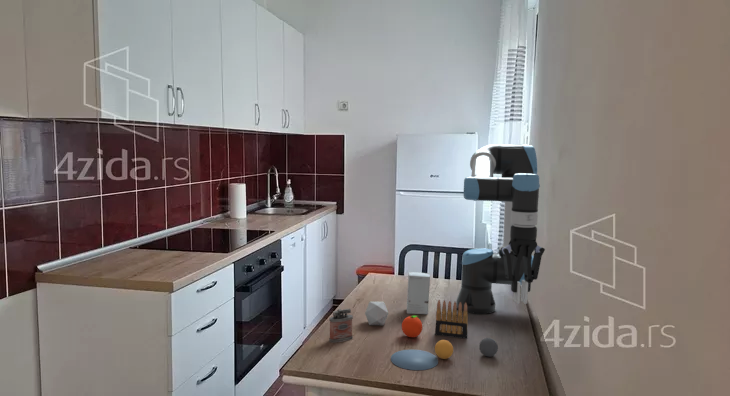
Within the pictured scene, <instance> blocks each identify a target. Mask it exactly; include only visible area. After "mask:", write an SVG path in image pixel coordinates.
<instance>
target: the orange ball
mask: <svg viewBox="0 0 730 396" xmlns="http://www.w3.org/2000/svg"><path fill="white" fill-rule="evenodd" d="M434 352H435V354H436V355H435V356H436V357H437V358H439V359H442V360H448V359H449V358H450V357H452V356H453V353H454V346H453V344H452V343H451V341H449V340H446V339H441V340H438V341H437V342H436V344H435V345H434Z"/></svg>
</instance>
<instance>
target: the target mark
mask: <svg viewBox="0 0 730 396" xmlns="http://www.w3.org/2000/svg"><path fill="white" fill-rule="evenodd" d="M438 358H439V357H438V356H437V355H435V354H433V353H432V352H430V351H426V350H420V349H411V348H410V349H402V350H398V351H396V352H394V353H393V354H392V355H391V356H390V361H391V362H392V364H394V366H396V367H398V368H401V369H405V370H408V371H426V370H430V369H433V368H435V367H436V366H438V364H439V359H438Z"/></svg>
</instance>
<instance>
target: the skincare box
mask: <svg viewBox="0 0 730 396" xmlns="http://www.w3.org/2000/svg"><path fill="white" fill-rule="evenodd" d="M407 273H408V276H407V277H408V279H407V298H406V314H409V315H410V314H413V315H414V314H417V315H428V314H429V303H430V301H429V300H430V288H431V287H430V286H431V276H430V273H427V272H417V271H416V272H415V271H412V272H410V271H408V272H407Z"/></svg>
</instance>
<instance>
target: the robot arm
mask: <svg viewBox="0 0 730 396" xmlns="http://www.w3.org/2000/svg"><path fill="white" fill-rule="evenodd" d="M469 168H470V169H471V175H470V176H466V177H465V178H464V180H463V199H465V200H467V201H473V202H476V201H479V202H484V201H485V202H504V210H503V211H504V213H503V241H502V245H501V246H500V247H499V248H498V253H495V252H494V250H493V249H491V248H486V247H480V248H479V247H478V248H472V249H468V250H466V251H464V252H463V254H462V260H461V283H460V284H461V285H460V286H461V287H460V291H459V292H458V295H457V298H456V301H455V302H456V305H457V309H458V307H459V303H460V302H461V304H462V312H463V311H464V305H465V302H466V303H467V314H468V313H470V314H477V315H478V314H479V315H483V314H486V315H487V314H490V313H493V312H495V311H496V302H495V301H496V300H495V298H494V294H493V291H492V287H493V286H492V285H493V284H497V285H511V286H510V290H511V292H513V299H512V302H514V303H516V304H517V305H519V304H520V303H521V302H522V303H524V304H525V305H526V304H528V300H529V299H528V296H529V295H528V294H529V293H530V292H531V285H532V283H533V282H534V280H538V277H539V272H540V268H541V267H540V266H541V262H542V258H543V257H542V256H543V255H544V252H545V250H546V249H545V248H544V247H541V246H539V245H538V242H537V237H538V236H537V235H538V228H537V226H536V225H538V216H539V215H538V214H539V212H538V211H539V209H538V208H539V197H540V196H539V195H540V194H539V192H540V187H541V186H540V175H538V158H537V151H536V148H535V147H534V146H533V145H531V144H530V145H529V144H523V143H522V144H514V143H513V144H497V143H496V144H488V145H485V146H483V147H481V148H480V149H479V148H478V149H477V150H476V151H475V152H474V153H473V154H472V156H471V157H470V161H469ZM494 175H501V177H494ZM533 252H534V253H533ZM532 254H533V255H532Z"/></svg>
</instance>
